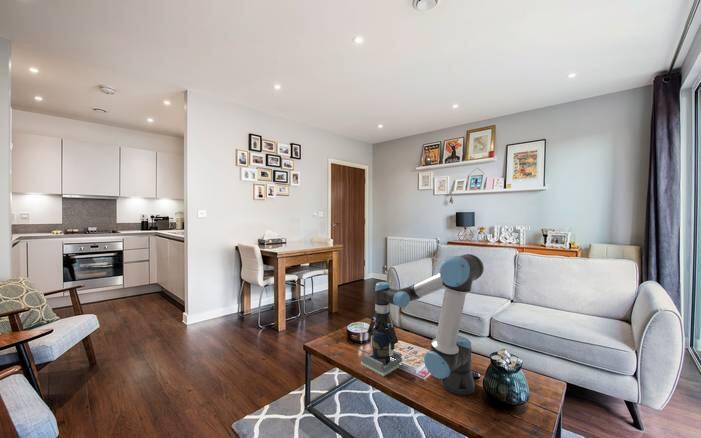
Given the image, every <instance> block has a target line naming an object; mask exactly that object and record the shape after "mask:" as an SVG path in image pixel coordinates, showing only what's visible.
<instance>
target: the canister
mask: <svg viewBox="0 0 701 438" xmlns="http://www.w3.org/2000/svg"><path fill="white" fill-rule="evenodd" d="M372 330H373V329H372ZM389 343H390V341H389V339H388V337H387V335H386V333H385V332H384V330H382V329H380V328H378V329H374V330H373V348H372V353H373V358H374V359H376V360H378V361H380V362H382V363H383V365H384V364H387V363H389V362H390V356H389Z"/></svg>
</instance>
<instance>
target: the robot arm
mask: <svg viewBox="0 0 701 438" xmlns="http://www.w3.org/2000/svg"><path fill="white" fill-rule="evenodd" d="M484 269H485V268H484V263H483V260H481V259H480V258H479V257H478V256H477V255H475V254H470V253H469V254H468V253H467V254H461V255H453V256H450V257H449V258H446V259H445V260H444V261H442V263H441V264H440V267H439V272H438V273H436V274H434V275H432V276H429V277H427V278H425V279H423V280H420V281H418V282H416V283H414V284H411V285H409V286H407V287H403V288H399V289H394V288H391V286H390V283H389V282H386V281H380V282H376V283H375V289H374V294H375V300H374V301H375V302H374V303H375V304H374V305H375V306H374V310H375V313H374V316H373V317H371V319H370V323H369V326H368V329H367V332H366V333H368V334H369V339H370V348H371V349H373V330H374V329H378V328H380V329H382V330H384V332H385V333H386V335H387V337H388V339H389V341H390V343H389V356H392V355H393V351H395V349H396V348H395V344H397V343H399V340H398V336H397V334H396V330H395V328H394V327H395V325H394V323H389V321H390V305H393V306H396V307H401V308H406V307H407V306H408V305H409V303H410V302H413V301H417V300H419V299H421V298H424V297H426V296H428V295H430V294H433V293H436V292H438V291H441V290H443V289H444V293H443V299H442V304H441V308H440V309H441V310H440V315H439V320H438V325H437V331H436V336H435V338H433V339H432V340H431V344H430V349H429V351H426V353H425V354H424V357H423V361H424V365H425V367H426V369H427V371H428V373H430V374H431V375H432V376H433V377H434V378H436V379H440V385H441V386H442V388H443V389H444V390H446V391H448V392H449V393H451V394H455V395H459V396H469V395H472V394H473V393H474V392H475V390H476V388H475V387H476V384H475V383H476V382H475V380H474V377H473V373H472V349H473V348H472V341H471V340H470V339H468V338H467V337H464V336H461V335H459V331H460V327H461V321H462V317H463V311H464V307H465V300H466V296H467V294H468V293H470V292H471V290H472V285H473V281H476V280H479V278H481V276H483V273H484Z"/></svg>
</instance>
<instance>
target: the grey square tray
mask: <svg viewBox="0 0 701 438" xmlns="http://www.w3.org/2000/svg"><path fill="white" fill-rule="evenodd" d="M401 356H402V353H400V352H397V351H395V350H393V355H392V356H390V357H392V358H394V359H396V360H394V361H392V360H390V362H389V363H387V364H384V365H383V363H382V362H380V361H378V360H376V359H374V358H373V352H370V353H368V354H363V355H362V357H361V360H360V365H362V366H364V367H366V369H367V368H368V369H370V370H371V371H372V372H375V373H377V374H378V375H380V376H382V377H384V376H387V375H388V374H390V373H391V372H393V371H396V369H397V370H398V368H400V367H401V366H400V364H399V363H400V362H401V361H402V362H403V358H402V357H401ZM399 366H400V367H399Z"/></svg>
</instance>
